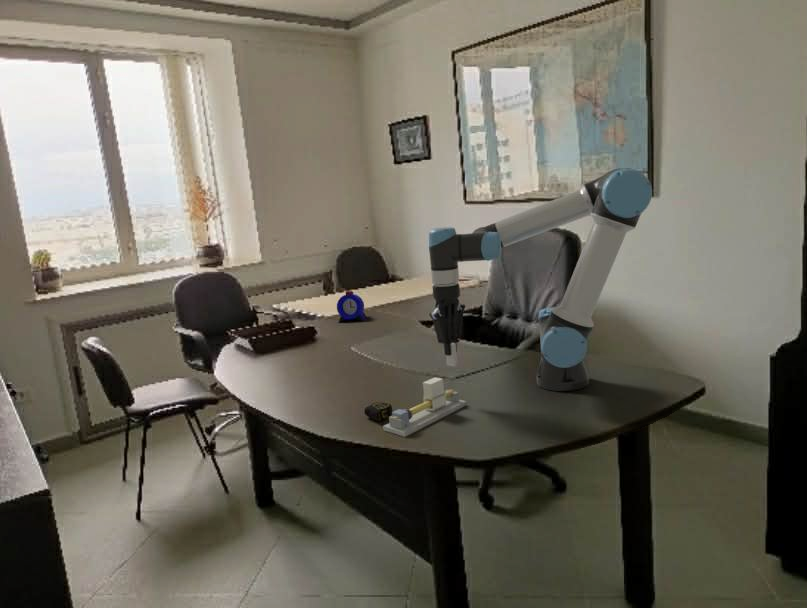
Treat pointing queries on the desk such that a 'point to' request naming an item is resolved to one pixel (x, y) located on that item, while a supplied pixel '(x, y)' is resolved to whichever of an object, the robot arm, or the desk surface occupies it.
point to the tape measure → (379, 410)
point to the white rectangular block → (434, 393)
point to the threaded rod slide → (421, 415)
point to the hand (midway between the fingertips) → (451, 365)
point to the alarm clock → (350, 307)
